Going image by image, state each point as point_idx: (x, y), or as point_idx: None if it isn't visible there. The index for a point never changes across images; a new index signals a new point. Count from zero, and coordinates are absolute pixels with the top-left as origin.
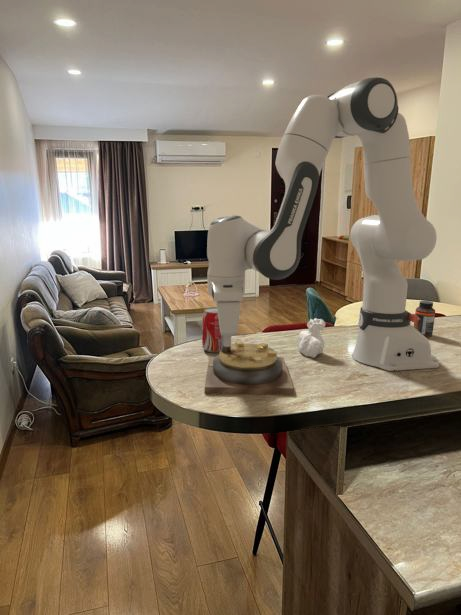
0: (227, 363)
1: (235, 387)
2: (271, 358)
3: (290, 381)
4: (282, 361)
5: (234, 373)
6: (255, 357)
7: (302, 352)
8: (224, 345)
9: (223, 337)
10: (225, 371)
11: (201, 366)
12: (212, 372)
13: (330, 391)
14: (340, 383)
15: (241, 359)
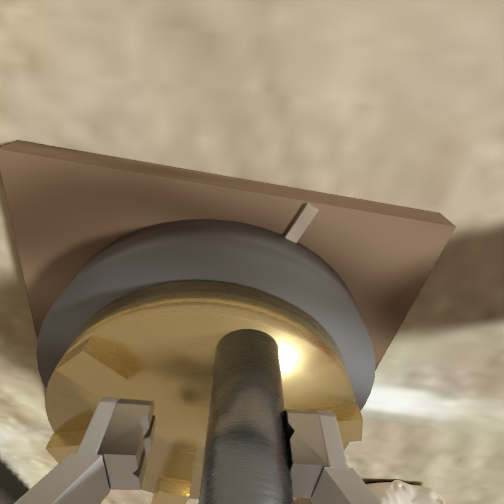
0: (96, 323)
1: (26, 285)
2: None
3: None
4: None
5: (43, 321)
6: None
7: (372, 488)
8: (99, 405)
9: (39, 482)
10: (67, 288)
11: (389, 165)
12: (207, 214)
13: None
14: (152, 493)
15: (97, 396)
